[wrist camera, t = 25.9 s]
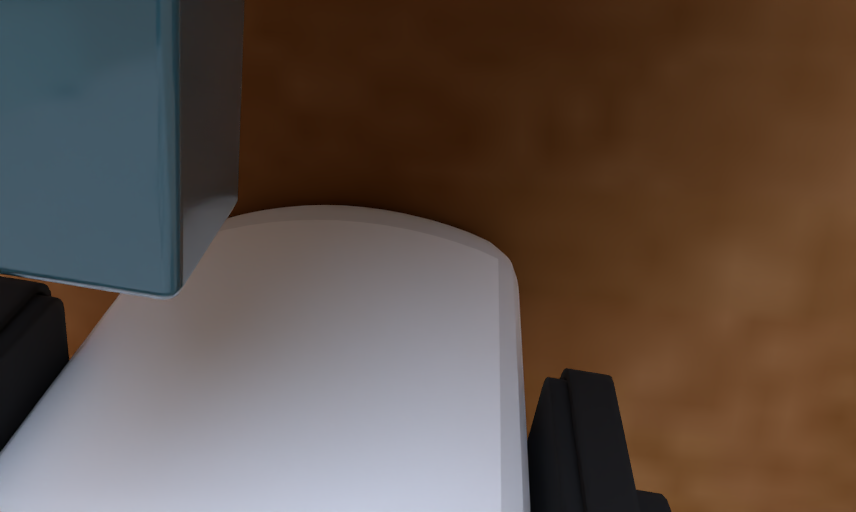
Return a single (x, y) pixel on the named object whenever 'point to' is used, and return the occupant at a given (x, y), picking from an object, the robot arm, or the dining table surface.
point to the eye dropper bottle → (294, 380)
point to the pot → (117, 139)
